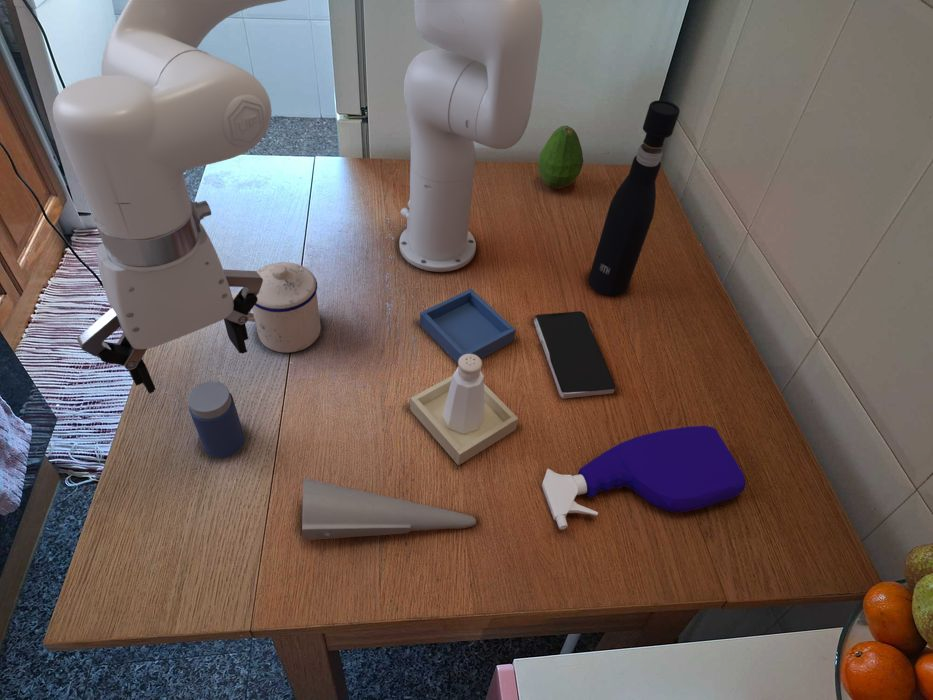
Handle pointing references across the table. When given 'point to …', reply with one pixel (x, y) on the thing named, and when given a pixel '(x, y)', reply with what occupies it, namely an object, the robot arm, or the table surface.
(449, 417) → the salt shaker
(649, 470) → the spray bottle
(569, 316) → the smartphone
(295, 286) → the teacup with lid
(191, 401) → the pepper shaker
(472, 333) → the blue tray
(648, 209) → the black bottle
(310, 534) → the grey tapered cone
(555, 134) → the avocado
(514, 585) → the table surface
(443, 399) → the cream tray
